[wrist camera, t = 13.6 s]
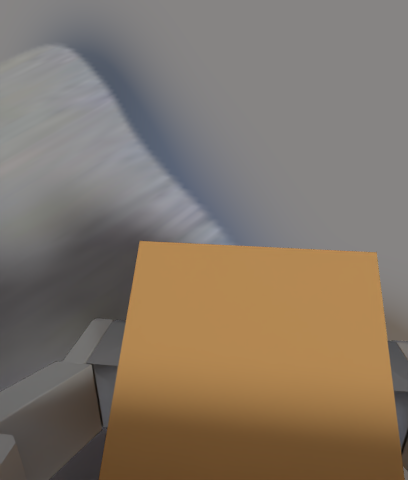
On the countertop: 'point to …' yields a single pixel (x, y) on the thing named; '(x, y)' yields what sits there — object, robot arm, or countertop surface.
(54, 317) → the countertop surface
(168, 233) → the countertop surface
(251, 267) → the block
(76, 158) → the countertop surface
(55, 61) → the countertop surface
